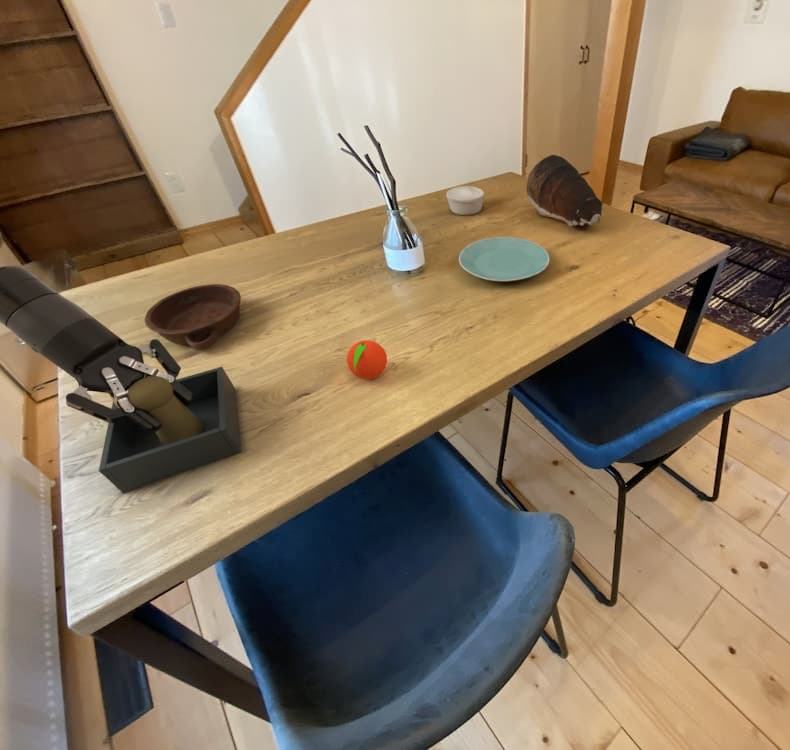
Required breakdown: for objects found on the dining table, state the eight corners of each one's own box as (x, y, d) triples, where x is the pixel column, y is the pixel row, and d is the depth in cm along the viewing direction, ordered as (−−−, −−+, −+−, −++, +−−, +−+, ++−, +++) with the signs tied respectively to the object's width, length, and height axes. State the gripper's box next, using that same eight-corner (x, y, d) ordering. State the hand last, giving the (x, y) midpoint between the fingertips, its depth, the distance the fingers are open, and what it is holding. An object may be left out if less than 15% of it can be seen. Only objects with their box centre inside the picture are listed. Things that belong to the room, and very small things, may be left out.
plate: (539, 243, 117) (540, 233, 115) (557, 286, 101) (558, 275, 99) (457, 249, 115) (456, 239, 114) (462, 294, 99) (461, 283, 97)
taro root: (584, 199, 108) (531, 153, 121) (565, 252, 120) (519, 205, 132) (627, 195, 115) (572, 152, 128) (605, 245, 127) (557, 201, 139)
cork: (191, 448, 67) (151, 399, 60) (153, 448, 67) (108, 399, 60) (211, 419, 72) (176, 369, 64) (175, 419, 72) (136, 369, 64)
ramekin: (491, 209, 135) (491, 191, 131) (466, 220, 129) (465, 202, 125) (466, 200, 140) (465, 183, 137) (440, 210, 134) (438, 193, 131)
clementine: (380, 393, 76) (371, 362, 71) (343, 389, 77) (331, 358, 72) (395, 363, 82) (388, 333, 77) (361, 359, 83) (351, 329, 78)
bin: (123, 493, 62) (98, 470, 58) (133, 420, 72) (113, 397, 69) (241, 452, 67) (225, 429, 63) (235, 389, 77) (222, 366, 74)
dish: (239, 290, 102) (230, 270, 99) (259, 337, 89) (249, 317, 85) (154, 314, 95) (140, 295, 92) (161, 370, 82) (146, 349, 78)
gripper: (6, 356, 53) (133, 444, 58) (118, 295, 63) (218, 376, 68) (12, 377, 58) (129, 457, 63) (115, 318, 68) (209, 391, 73)
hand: (175, 414), depth 65 cm, fingers closed on cork, 5 cm apart
